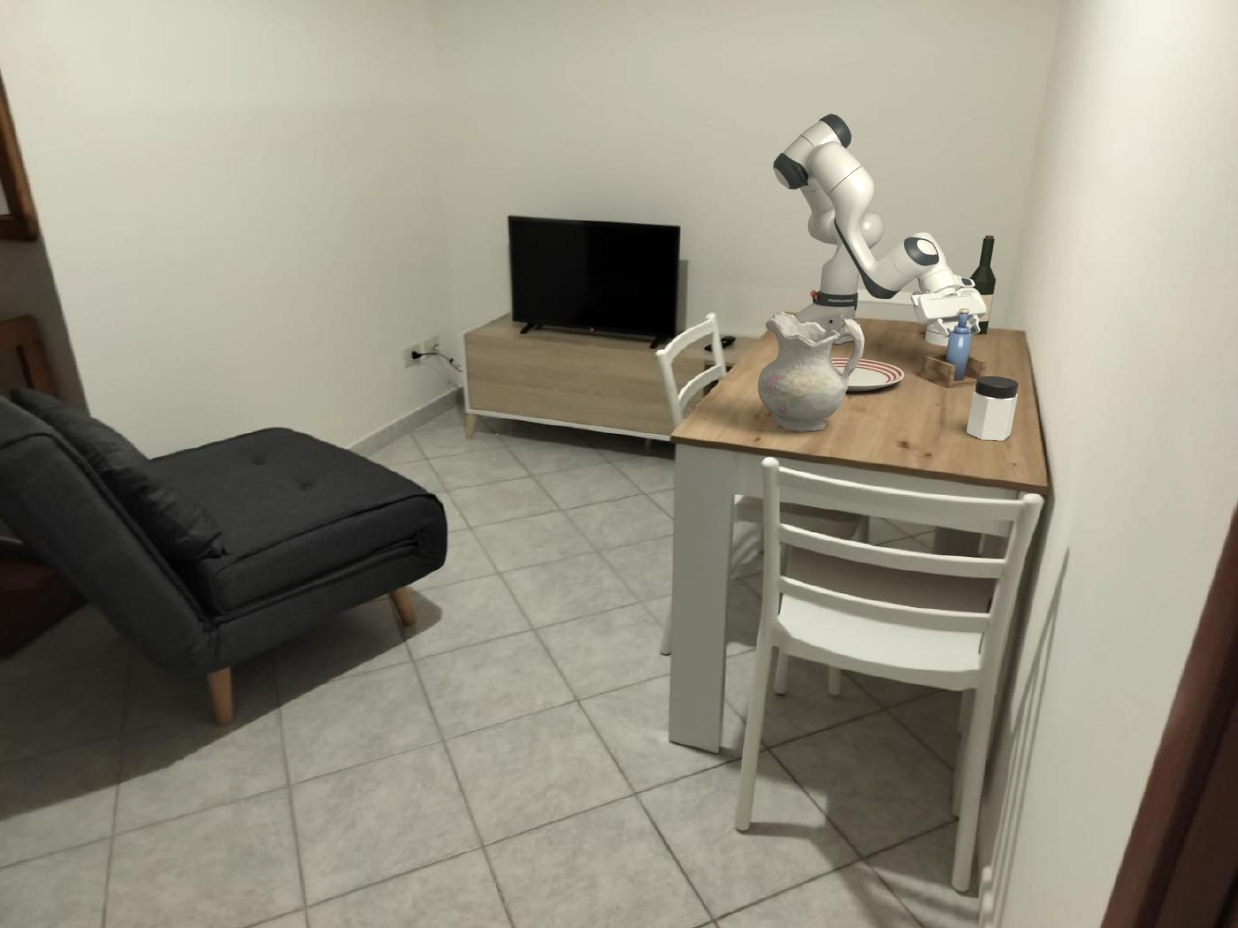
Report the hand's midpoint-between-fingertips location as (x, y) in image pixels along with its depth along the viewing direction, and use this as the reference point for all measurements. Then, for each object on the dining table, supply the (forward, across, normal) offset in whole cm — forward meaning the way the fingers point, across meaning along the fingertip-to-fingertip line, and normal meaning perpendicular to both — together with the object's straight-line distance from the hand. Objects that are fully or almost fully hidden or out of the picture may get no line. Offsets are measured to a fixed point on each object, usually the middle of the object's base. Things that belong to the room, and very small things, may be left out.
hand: (962, 334), depth 212 cm
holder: (+8, 0, +10) cm, 12 cm away
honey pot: (-15, +29, +33) cm, 47 cm away
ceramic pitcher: (+18, -55, 0) cm, 58 cm away
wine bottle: (-20, +46, +38) cm, 63 cm away
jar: (+33, -22, -15) cm, 42 cm away
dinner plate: (+1, -25, +17) cm, 31 cm away
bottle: (+8, 0, +9) cm, 12 cm away
